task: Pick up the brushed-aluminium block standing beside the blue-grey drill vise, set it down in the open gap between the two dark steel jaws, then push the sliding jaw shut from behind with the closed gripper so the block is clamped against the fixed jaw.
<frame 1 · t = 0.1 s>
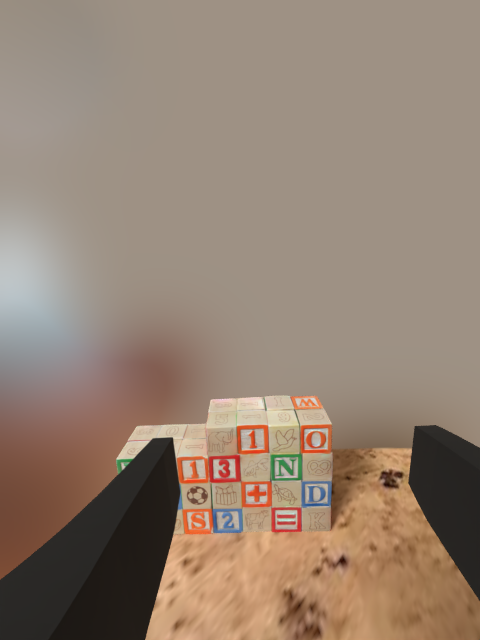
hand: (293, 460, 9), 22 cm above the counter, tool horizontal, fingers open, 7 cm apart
stack of blocks: (230, 511, 34), on the counter
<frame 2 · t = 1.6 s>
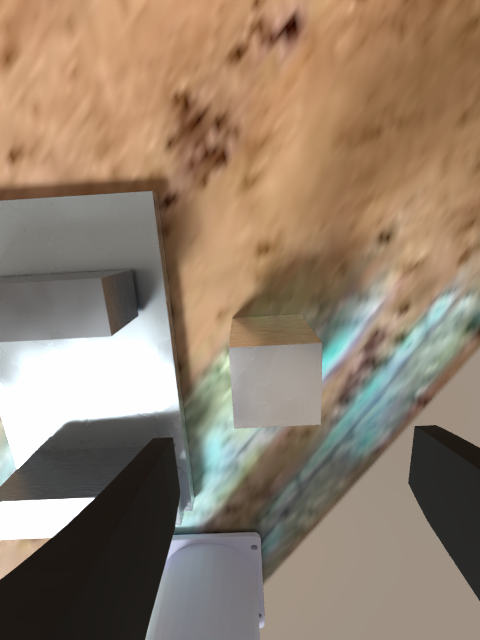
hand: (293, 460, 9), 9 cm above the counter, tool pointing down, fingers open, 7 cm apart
sliding jaw: (39, 304, 14), point 3 cm above the counter, slide at 0.0 cm
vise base: (90, 372, 18), on the counter
aluminium block: (267, 347, 18), on the counter
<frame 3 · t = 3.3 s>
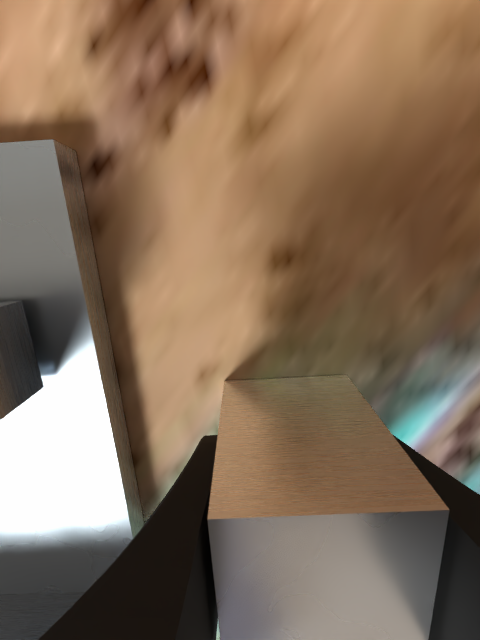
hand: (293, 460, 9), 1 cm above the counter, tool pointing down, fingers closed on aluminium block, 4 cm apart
aluminium block: (286, 430, 10), on the counter, touching gripper
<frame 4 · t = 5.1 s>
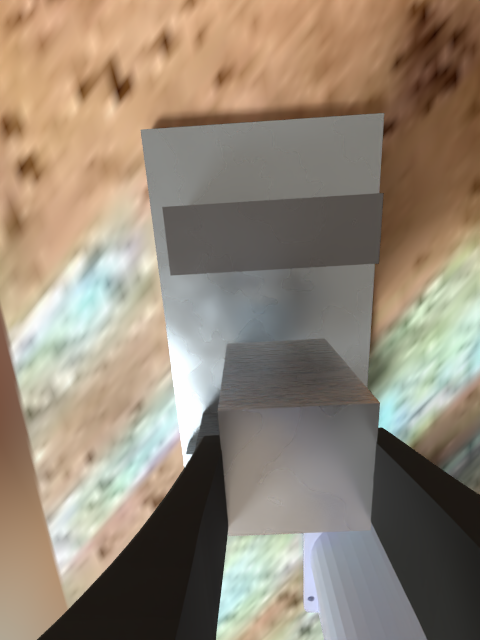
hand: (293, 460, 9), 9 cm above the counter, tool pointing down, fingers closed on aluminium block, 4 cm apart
sliding jaw: (268, 236, 13), point 3 cm above the counter, slide at 0.0 cm
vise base: (267, 326, 17), on the counter
aluminium block: (276, 385, 13), point 5 cm above the counter, touching gripper
when the fingers open (4 cm above the counter, at t = 6.8 s): aluminium block stays where it is, resting on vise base.
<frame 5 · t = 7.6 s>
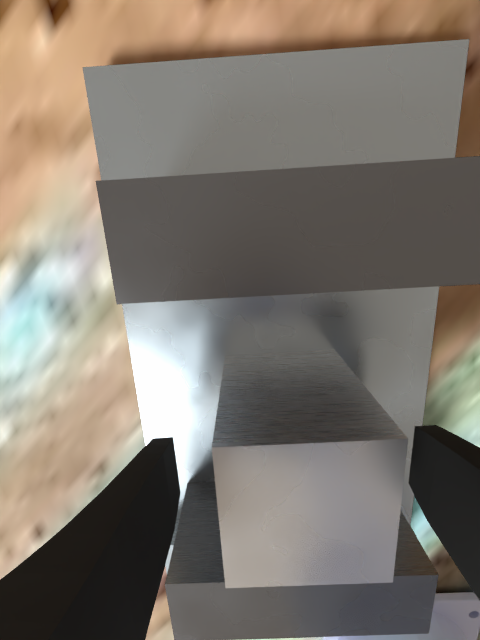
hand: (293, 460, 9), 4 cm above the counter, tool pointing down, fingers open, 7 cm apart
sliding jaw: (286, 235, 8), point 3 cm above the counter, slide at 0.0 cm
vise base: (277, 363, 12), on the counter
aluminium block: (280, 400, 11), point 1 cm above the counter, touching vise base
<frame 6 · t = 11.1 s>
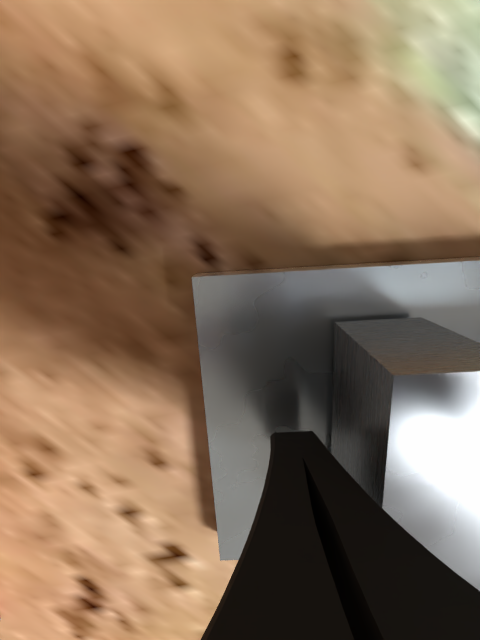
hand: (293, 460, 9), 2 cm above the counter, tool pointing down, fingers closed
sliding jaw: (396, 479, 8), point 3 cm above the counter, slide at 0.3 cm, touching gripper
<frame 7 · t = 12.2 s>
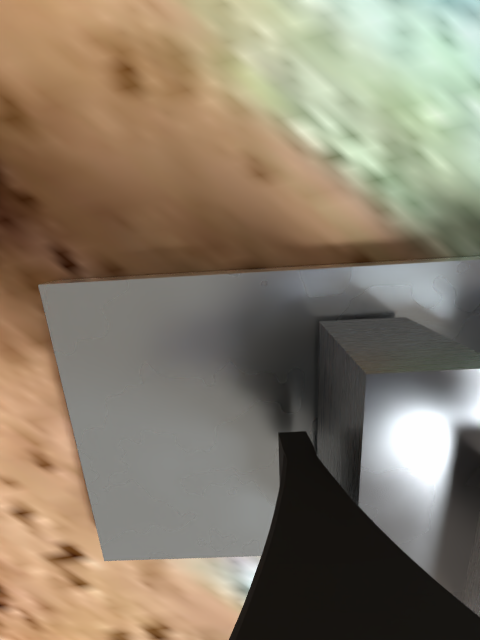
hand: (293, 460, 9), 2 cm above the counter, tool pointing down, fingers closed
sliding jaw: (379, 477, 8), point 3 cm above the counter, slide at 4.5 cm, touching aluminium block, gripper
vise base: (356, 413, 11), on the counter
aluminium block: (450, 427, 10), point 1 cm above the counter, touching sliding jaw, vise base
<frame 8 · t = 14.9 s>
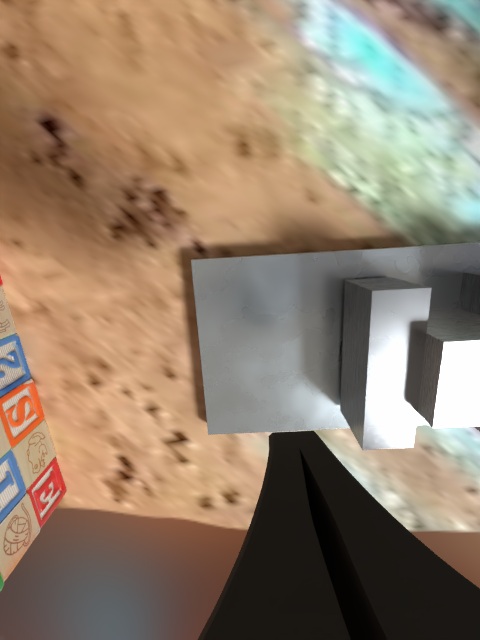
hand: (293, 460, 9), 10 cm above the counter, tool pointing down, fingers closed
sliding jaw: (377, 360, 15), point 3 cm above the counter, slide at 4.5 cm, touching aluminium block
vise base: (364, 340, 18), on the counter
aluminium block: (418, 343, 17), point 1 cm above the counter, touching sliding jaw, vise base
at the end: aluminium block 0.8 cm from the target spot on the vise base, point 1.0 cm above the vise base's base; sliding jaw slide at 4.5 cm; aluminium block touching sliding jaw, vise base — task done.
